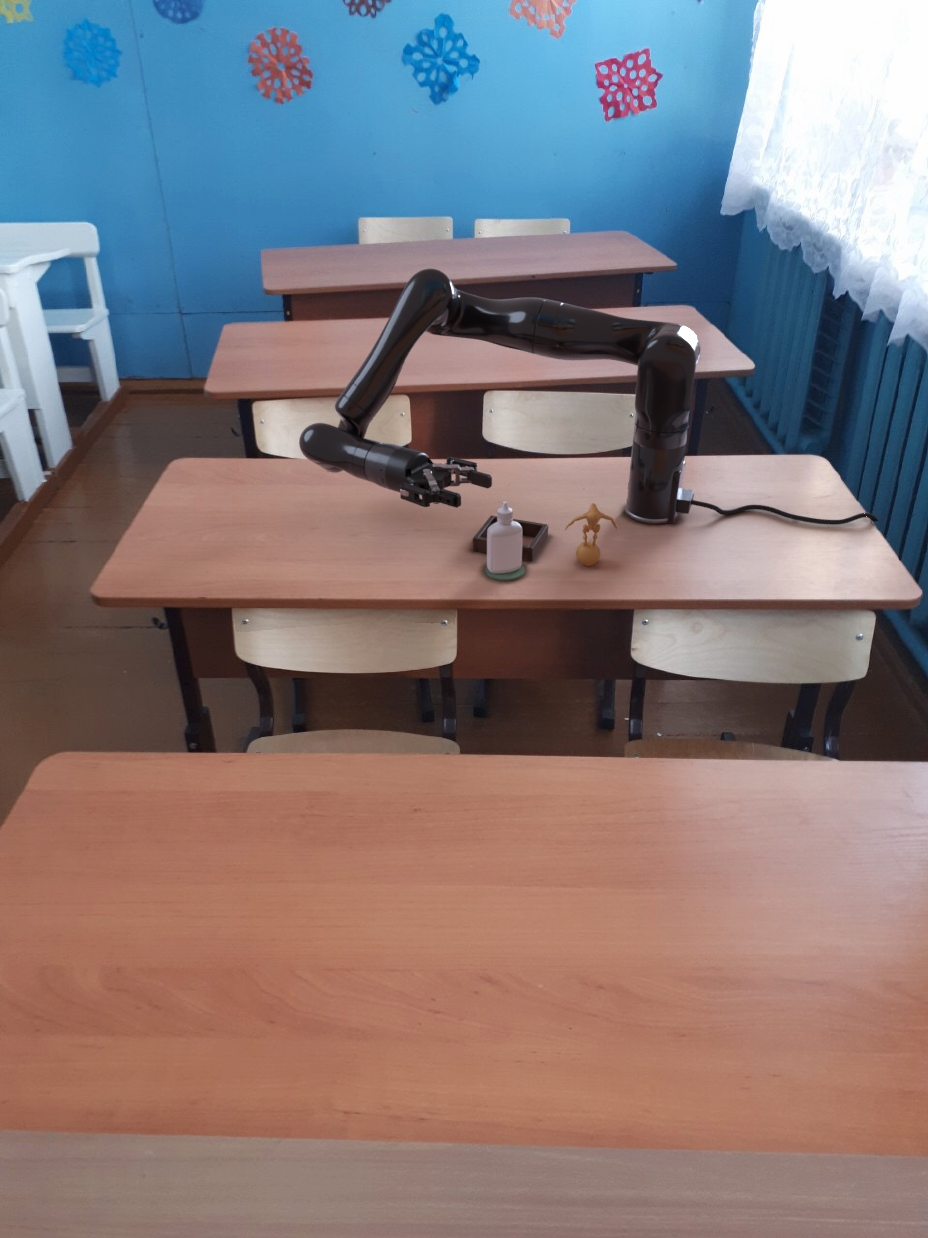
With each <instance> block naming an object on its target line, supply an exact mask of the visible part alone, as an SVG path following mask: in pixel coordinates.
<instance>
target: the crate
mask: <svg viewBox="0 0 928 1238" xmlns="http://www.w3.org/2000/svg"><path fill="white" fill-rule="evenodd" d="M513 521H516V522H518V523H519V524H520V525H521V527H522V536H527V537H531V538H533V539H532V541H531V543H530V544H529V545H528V544H523V543H522V561H528V562H533V561H534V559H535V558H536V556H537V555H538V553H539V552H540V550H541V548H542V547H543V545H544V544H545V542H546V541H547V539H548V537H549V535H548V534H549V524H547V523H541V522H536V521H529V520H523V519H517V518H513ZM496 522H497V515H490V516H489V517H488V518H487V520H486V521H485V522H484V524H483V525H482V526H481V527H480V529H479V530H478V531H477V532H476V534H475V535H474V536H473V538H472V550H473V552H478V553H482V554H487V529H488V528H489V527H490V526H491V525H492V524H494V523H496Z"/></svg>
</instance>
